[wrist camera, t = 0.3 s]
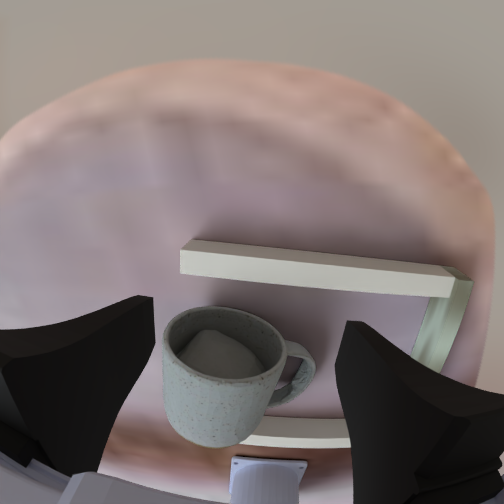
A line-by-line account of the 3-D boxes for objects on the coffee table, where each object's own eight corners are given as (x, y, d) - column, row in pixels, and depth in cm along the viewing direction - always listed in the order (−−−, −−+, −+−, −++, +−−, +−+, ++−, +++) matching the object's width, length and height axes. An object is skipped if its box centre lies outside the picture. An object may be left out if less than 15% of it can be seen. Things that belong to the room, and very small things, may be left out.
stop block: (390, 426, 24) (398, 447, 22) (377, 427, 24) (384, 448, 22) (453, 267, 19) (474, 281, 17) (439, 265, 20) (459, 280, 17)
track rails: (377, 427, 24) (383, 445, 22) (192, 416, 25) (186, 435, 23) (439, 265, 20) (455, 277, 17) (191, 239, 20) (180, 249, 18)
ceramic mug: (176, 379, 24) (150, 446, 17) (181, 296, 22) (144, 358, 14) (298, 400, 24) (304, 471, 17) (325, 321, 22) (347, 392, 14)
